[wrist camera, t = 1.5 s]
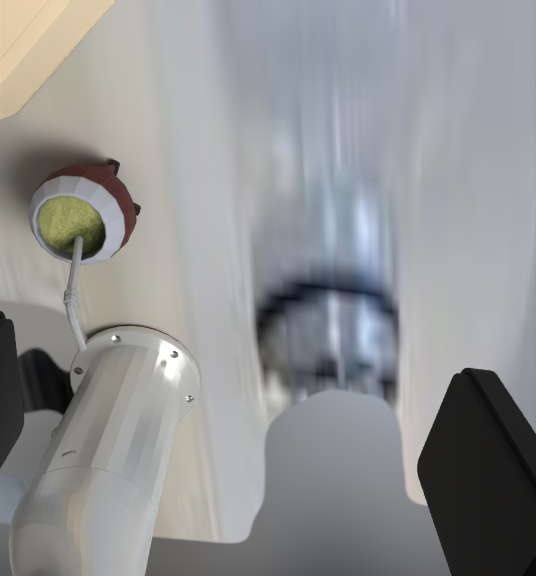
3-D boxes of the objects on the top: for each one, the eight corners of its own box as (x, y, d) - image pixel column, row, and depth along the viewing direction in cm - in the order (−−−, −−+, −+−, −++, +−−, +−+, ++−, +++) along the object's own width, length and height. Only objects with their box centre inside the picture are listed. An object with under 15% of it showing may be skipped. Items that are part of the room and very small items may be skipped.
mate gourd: (74, 136, 38) (-26, 191, 25) (169, 180, 40) (123, 253, 27) (49, 217, 41) (-51, 306, 28) (138, 255, 43) (84, 355, 30)
